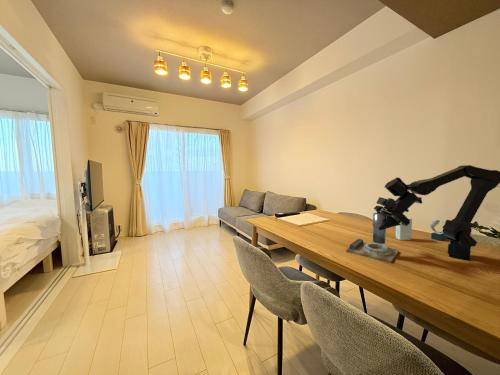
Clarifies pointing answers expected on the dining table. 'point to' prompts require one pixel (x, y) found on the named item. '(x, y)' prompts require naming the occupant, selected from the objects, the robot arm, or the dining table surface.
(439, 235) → the watch
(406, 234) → the skincare box
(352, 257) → the dining table surface
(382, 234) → the dark grey cylinder
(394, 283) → the dining table surface
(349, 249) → the jig
